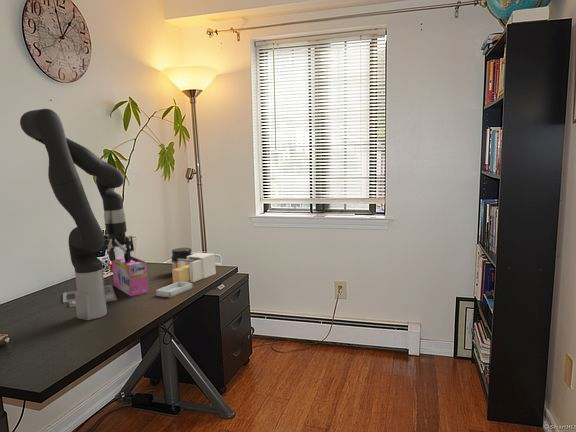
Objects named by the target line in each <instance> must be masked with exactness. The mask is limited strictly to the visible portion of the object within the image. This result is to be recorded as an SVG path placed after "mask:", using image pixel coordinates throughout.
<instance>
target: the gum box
mask: <svg viewBox="0 0 576 432" xmlns="http://www.w3.org/2000/svg"><path fill="white" fill-rule="evenodd" d="M130 256H131V261H130V262H128V263H125V258H124V256H119V257H118V256H117V257H115V260H114V261H111V263H112V265H111V267H112V278H113V286H114V287H115V288H117V289H118V290H119V291H122V292H123V293H124V294H126V295H128V296H129V297H136V296H139V295H143V294H148V293H149V285H148V283H149V282H148V274H147V273H148V272H147V271H148V270H147V262H146V261H144V260H141V259H138V258H136V257H134V256H133V255H130Z"/></svg>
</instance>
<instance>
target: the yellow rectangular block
mask: <svg viewBox="0 0 576 432" xmlns="http://www.w3.org/2000/svg"><path fill="white" fill-rule="evenodd" d="M171 273H172V284H173V283H176V282H179V281H180V282H188V283H191V282H190V270H189V265H185V266H182V267H179V268H176V269H173V270H172V269H171Z"/></svg>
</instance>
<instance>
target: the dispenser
mask: <svg viewBox="0 0 576 432" xmlns="http://www.w3.org/2000/svg"><path fill="white" fill-rule="evenodd" d="M215 255H216V254H215V253H207V252H205V253H204V252H197V253H193V254H192V255H190V256H187V259H177V261H178V268H179V267H182V266H185V265H189V270H190V282H189V283H195V282H197V281H200V280H203V279H206V278H209V277H211V276H214V275H216V274H217V271H216V268H217V267H216V256H215Z"/></svg>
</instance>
